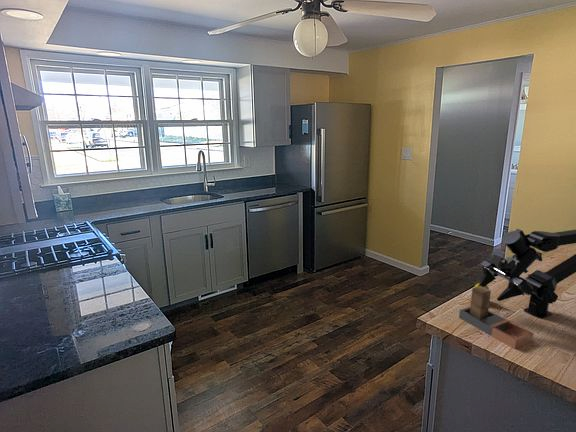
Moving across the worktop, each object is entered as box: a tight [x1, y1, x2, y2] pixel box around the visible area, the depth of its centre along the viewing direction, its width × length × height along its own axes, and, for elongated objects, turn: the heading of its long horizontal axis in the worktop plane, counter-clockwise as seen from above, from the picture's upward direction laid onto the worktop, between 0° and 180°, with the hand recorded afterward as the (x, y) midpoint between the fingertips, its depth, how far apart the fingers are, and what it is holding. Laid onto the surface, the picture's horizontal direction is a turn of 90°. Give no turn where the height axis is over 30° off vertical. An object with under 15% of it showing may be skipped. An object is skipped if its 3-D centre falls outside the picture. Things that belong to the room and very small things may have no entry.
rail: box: [458, 306, 535, 350], centre depth 122 cm, size 8×21×3 cm, turn 24°
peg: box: [469, 286, 492, 320], centre depth 126 cm, size 4×4×12 cm
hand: (488, 294), depth 125 cm, fingers open, 9 cm apart
